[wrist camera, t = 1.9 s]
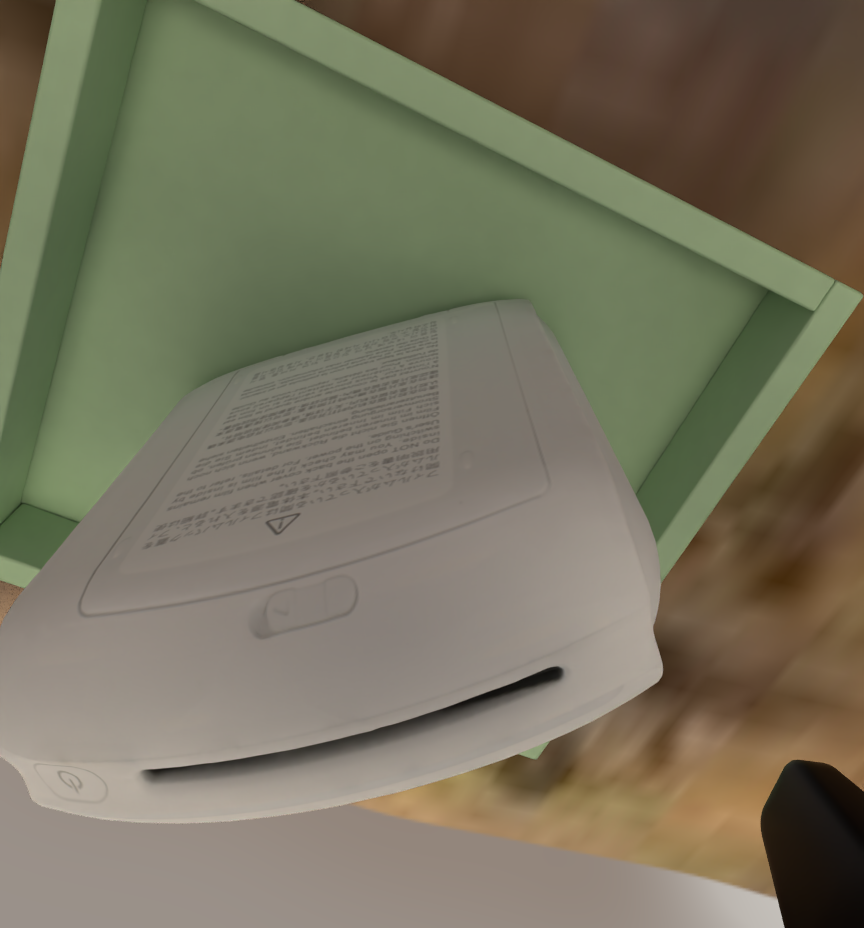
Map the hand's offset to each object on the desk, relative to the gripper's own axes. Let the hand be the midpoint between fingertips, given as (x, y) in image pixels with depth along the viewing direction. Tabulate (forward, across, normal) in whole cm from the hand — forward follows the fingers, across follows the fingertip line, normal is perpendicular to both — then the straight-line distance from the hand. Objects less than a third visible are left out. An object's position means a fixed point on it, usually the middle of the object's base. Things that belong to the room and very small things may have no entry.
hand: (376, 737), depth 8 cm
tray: (+14, +1, +1) cm, 14 cm away
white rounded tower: (+13, +1, +1) cm, 13 cm away
